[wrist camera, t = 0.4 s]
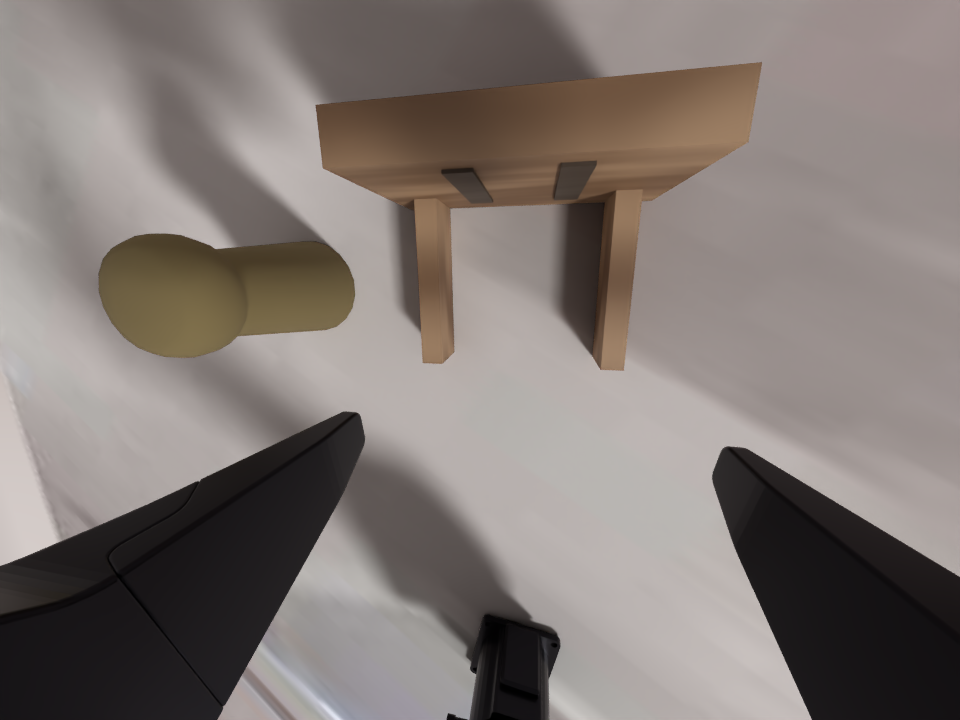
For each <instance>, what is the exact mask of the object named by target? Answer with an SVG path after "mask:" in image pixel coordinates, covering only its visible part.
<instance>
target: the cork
mask: <svg viewBox="0 0 960 720" xmlns="http://www.w3.org/2000/svg"><path fill="white" fill-rule="evenodd" d="M99 293H100V297H101V300H102V304H103V307H104V309H105V311H106V313H107V315H108V317H109V319H110V320H111V322H112V324H113V325H114V326H115V327H116V328H117V330H118V331H119V332H120V333H121V334H122V335H123V337H124V338H126V339H127V340H128V341H130V342H131V343H132V344H134V345H135V346H136V347H138V348H140V349H143V350H145V351H148V352H150V353H153V354H157V355H160V356H164V357H178V358H190V357H197V356H201V355H204V354H208V353H211V352H214V351H217V350H220V349H221V348H223V347H225V346H226V345H228V344H230V343H231V342H232V341H233V340H234V339H235V338H236V337H237V336H246V335H261V334H275V333H290V332H304V331H318V330H327V329H330V328H333V327H336V326H338V325H339V324H340V323H341V322H343V321H344V320H345V319H346V318H347V316H348V314H349V313H350V311H351V309H352V307H353V302H354V298H355V288H354V280H353V277H352V275H351V272H350V269H349V267H348V265H347V264H346V263H345V261H344V260H343V259H342V257H341V256H340V255H339V254H338V253H337V252H335V251H334V250H333V249H331V248H330V247H329V246H327V245H324V244H321V243H318V242H292V243H281V244H269V245H258V246H247V247H235V248H224V249H214V248H213V247H212V246H210V245H207V244H204V243H201V242H199V241H196V240H193V239H190V238H187V237H185V236H182V235H174V234H145V235H138V236H134V237H132V238H130V239H128V240H126V241H124V242H122V243H120V244H118V245H116V246H115V247H113V248H112V249H111V250H110V251H109V252H108V253H107V255H106V256H105V257H104V258H103V261H102V264H101V267H100V271H99Z"/></svg>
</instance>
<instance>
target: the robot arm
mask: <svg viewBox="0 0 960 720" xmlns="http://www.w3.org/2000/svg"><path fill="white" fill-rule="evenodd" d="M364 443H365V435H364V430H363V425H362V420H361V416H360V415H359V414H358V413H356V412H341V413H339V414H337V415H335V416H333V417H331V418H329V419H327V420H325V421H323V422H320V423H318V424H316V425H314V426H312V427H310V428H308V429H306V430H304V431H302V432H300V433H297V434H295V435H293V436H291V437H289V438H287V439H285V440H283V441H281V442H279V443H276V444H274V445H272V446H270V447H268V448H266V449H264V450H262V451H260V452H258V453H255V454H253V455H251V456H249V457H247V458H245V459H243V460H241V461H239V462H237V463H234V464H232V465H230V466H228V467H226V468H224V469H222V470H220V471H218V472H216V473H213V474H211V475H209V476H207V477H205V478H203V479H201V480H200V482H198V481H197V482H194V483H192V484H190V485H188V486H186V487H184V488H182V489H180V490H178V491H175V492H173V493H171V494H169V495H167V496H165V497H162V498H160V499H158V500H156V501H154V502H152V503H149V504H147V505H145V506H143V507H140V508H138V509H136V510H133V511H131V512H129V513H127V514H124V515H122V516H120V517H117V518H115V519H113V520H110V521H108V522H106V523H103V524H101V525H99V526H96V527H94V528H92V529H89V530H87V531H84V532H82V533H80V534H77V535H75V536H73V537H70V538H68V539H66V540H63V541H61V542H59V543H56V544H54V545H52V546H49V547H47V548H45V549H42V550H40V551H37V552H35V553H33V554H30V555H28V556H26V557H23V558H21V559H18V560H15V561H13V562H10V563H8V564H5V565H2V566H0V720H217V719H218V717H219V716H220V714H221V712H222V710H223V706H224V705H225V704H226V702H227V701H228V699H229V697H230V695H231V694H232V692H233V690H234V688H235V686H236V685H237V683H238V681H239V679H240V677H241V676H242V674H243V672H244V670H245V669H246V667H247V665H248V663H249V661H250V660H251V658H252V656H253V654H254V652H255V651H256V649H257V647H258V645H259V643H260V642H261V640H262V638H263V636H264V635H265V633H266V631H267V629H268V627H269V626H270V624H271V622H272V620H273V618H274V617H275V615H276V613H277V611H278V609H279V608H280V606H281V604H282V602H283V601H284V599H285V597H286V595H287V593H288V592H289V590H290V588H291V586H292V584H293V583H294V581H295V579H296V577H297V576H298V574H299V572H300V570H301V568H302V567H303V565H304V563H305V561H306V559H307V558H308V556H309V554H310V552H311V550H312V549H313V547H314V545H315V543H316V542H317V540H318V538H319V536H320V534H321V533H322V531H323V529H324V527H325V525H326V524H327V522H328V520H329V518H330V516H331V515H332V513H333V511H334V509H335V508H336V506H337V504H338V502H339V500H340V498H341V496H342V494H343V492H344V490H345V488H346V486H347V483H348V481H349V479H350V476H351V474H352V472H353V469H354V467H355V465H356V462H357V460H358V458H359V456H360V453H361V451H362V449H363V446H364ZM712 480H713V485H714V488H715V491H716V494H717V497H718V500H719V503H720V506H721V509H722V512H723V515H724V518H725V521H726V524H727V527H728V530H729V533H730V536H731V539H732V542H733V544H734V547H735V550H736V552H737V554H738V557H739V559H740V561H741V563H742V566H743V568H744V570H745V572H746V575H747V577H748V579H749V581H750V583H751V586H752V588H753V590H754V592H755V594H756V597H757V599H758V601H759V603H760V606H761V608H762V610H763V612H764V614H765V617H766V619H767V621H768V623H769V625H770V628H771V630H772V632H773V634H774V637H775V639H776V641H777V643H778V645H779V648H780V650H781V652H782V654H783V656H784V659H785V661H786V663H787V665H788V668H789V670H790V672H791V674H792V676H793V679H794V681H795V683H796V685H797V687H798V690H799V692H800V694H801V696H802V699H803V701H804V703H805V705H806V707H807V710H808V712H809V714H810V716H811V718H812V720H960V577H959V576H957V575H956V574H954V573H952V572H951V571H949V570H947V569H946V568H944V567H942V566H941V565H939V564H937V563H936V562H934V561H932V560H931V559H929V558H927V557H926V556H924V555H923V554H921V553H919V552H918V551H916V550H914V549H913V548H911V547H909V546H908V545H906V544H904V543H903V542H901V541H899V540H898V539H896V538H894V537H893V536H891V535H889V534H888V533H886V532H884V531H883V530H881V529H879V528H878V527H876V526H874V525H873V524H871V523H869V522H868V521H866V520H864V519H863V518H861V517H859V516H858V515H856V514H854V513H853V512H851V511H849V510H848V509H846V508H844V507H843V506H841V505H839V504H838V503H836V502H834V501H833V500H831V499H829V498H828V497H826V496H825V495H823V494H821V493H820V492H818V491H816V490H815V489H813V488H811V487H810V486H808V485H806V484H805V483H803V482H801V481H800V480H798V479H796V478H795V477H793V476H791V475H790V474H788V473H786V472H785V471H783V470H781V469H780V468H778V467H776V466H775V465H773V464H771V463H770V462H768V461H766V460H765V459H763V458H761V457H760V456H758V455H756V454H755V453H753V452H751V451H750V450H748V449H746V448H740V447H729V446H727V447H724V448H723V449H722V451H721V453H720V455H719V458H718V460H717V463H716V466H715V468H714V471H713V475H712ZM559 649H560V639H559V637H557V636H555V635H552V634H549V633H545V632H542V631H539V630H536V629H533V628H529V627H526V626H523V625H520V624H517V623H513V622H510V621H507V620H504V619H501V618H497V617H494V616H491V615H485V616H483V619H482V623H481V626H480V630H479V634H478V638H477V642H476V646H475V650H474V653H473V657H472V661H471V666H470V670H471V671H472V672H473V673H475V674H476V680H475V687H474V693H473V700H472V707H471V713H470V720H549V682H548V680H549V677H550V674H551V671H552V669H553V666H554V663H555V660H556V658H557V655H558V652H559ZM447 720H467V719H463V718H458V717H456V715H453V714H449V713H448V716H447Z"/></svg>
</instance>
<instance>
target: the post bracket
mask: <svg viewBox="0 0 960 720" xmlns="http://www.w3.org/2000/svg"><path fill="white" fill-rule="evenodd" d="M761 66H762V62H760V63H750V64H739V65H729V66H718V67H708V68H697V69H687V70H676V71H666V72H655V73H645V74H634V75H624V76H614V77H603V78H593V79H582V80H572V81H561V82H551V83H540V84H530V85H519V86H509V87H498V88H488V89H477V90H467V91H456V92H446V93H435V94H425V95H414V96H404V97H393V98H383V99H372V100H362V101H352V102H341V103H331V104H320V105H316V112H317V121H318V130H319V139H320V147H321V156H322V165H323V169H326V170H328V171H330V172H332V173H334V174H336V175H338V176H340V177H343V178H345V179H347V180H349V181H351V182H353V183H355V184H357V185H359V186H362V187H364V188H366V189H368V190H370V191H372V192H374V193H376V194H379V195H381V196H383V197H385V198H387V199H389V200H391V201H393V202H395V203H398V204H400V205H402V206H404V207H406V208H408V209H410V210H415V226H416V245H417V263H418V282H419V301H420V319H421V338H422V357H423V363H436V364H442V363H444V362H445V361H446V360H447V359H448V358H449V357H450V356H451V355H452V354H453V353H454V327H453V291H452V256H451V221H450V208H471V207H497V206H523V205H549V204H574V203H600V202H605V204H604V217H603V229H602V242H601V254H600V266H599V279H598V291H597V304H596V316H595V329H594V341H593V354H592V357H593V358H594V360H595V361H596V363H597V365H598V366H599V368H600V369H601V370H622V371H624V363H625V353H626V344H627V334H628V325H629V316H630V306H631V297H632V287H633V278H634V268H635V259H636V250H637V240H638V231H639V221H640V212H641V203H642V201H652V200H653V199H655V198H657V197H658V196H660V195H662V194H663V193H665V192H667V191H668V190H670V189H672V188H673V187H675V186H677V185H678V184H680V183H681V182H683V181H685V180H686V179H688V178H690V177H691V176H693V175H695V174H696V173H698V172H700V171H701V170H703V169H704V168H706V167H708V166H709V165H711V164H713V163H714V162H716V161H718V160H719V159H721V158H723V157H724V156H726V155H728V154H729V153H731V152H732V151H734V150H736V149H737V148H739V147H741V146H742V145H744V144H746V143H747V142H748V141H749V135H750V129H751V123H752V118H753V112H754V106H755V100H756V95H757V89H758V83H759V77H760V72H761Z"/></svg>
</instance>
